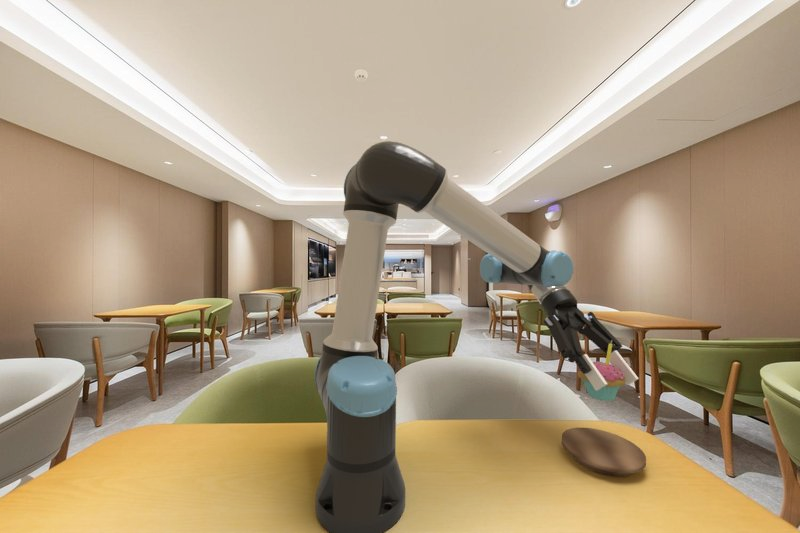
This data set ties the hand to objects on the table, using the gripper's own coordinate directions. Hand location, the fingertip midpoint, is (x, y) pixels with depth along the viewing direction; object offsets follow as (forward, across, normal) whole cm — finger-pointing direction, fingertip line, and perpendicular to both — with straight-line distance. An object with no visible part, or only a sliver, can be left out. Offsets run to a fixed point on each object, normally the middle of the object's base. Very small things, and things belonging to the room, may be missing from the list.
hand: (617, 384), depth 64 cm
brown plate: (+10, 0, -14) cm, 17 cm away
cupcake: (0, 0, -5) cm, 5 cm away
